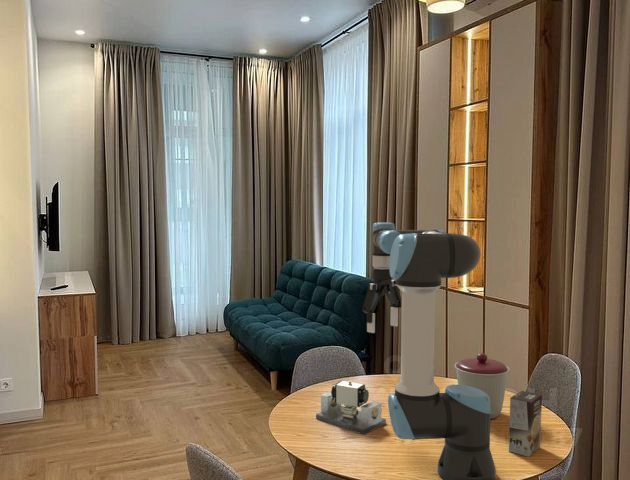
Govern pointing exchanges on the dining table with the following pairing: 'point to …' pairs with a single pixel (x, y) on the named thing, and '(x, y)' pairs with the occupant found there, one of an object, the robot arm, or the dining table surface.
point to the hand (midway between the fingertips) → (382, 329)
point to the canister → (484, 378)
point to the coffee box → (525, 423)
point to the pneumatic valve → (349, 397)
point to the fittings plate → (361, 423)
